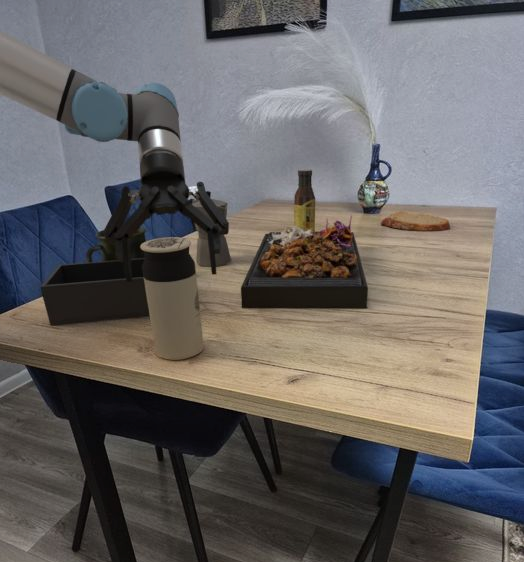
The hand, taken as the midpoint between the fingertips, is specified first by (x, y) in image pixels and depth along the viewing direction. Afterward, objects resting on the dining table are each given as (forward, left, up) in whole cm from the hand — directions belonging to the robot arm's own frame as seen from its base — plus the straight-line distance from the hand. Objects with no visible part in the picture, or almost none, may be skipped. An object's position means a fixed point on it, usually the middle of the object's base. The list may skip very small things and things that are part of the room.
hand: (171, 274), depth 75 cm
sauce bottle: (+37, +64, -12) cm, 75 cm away
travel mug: (0, -3, -12) cm, 13 cm away
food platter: (+30, +32, -12) cm, 46 cm away
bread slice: (+75, +71, -12) cm, 104 cm away
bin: (-14, +21, -12) cm, 28 cm away
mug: (-14, +36, -12) cm, 41 cm away
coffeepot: (+8, +49, -12) cm, 51 cm away
